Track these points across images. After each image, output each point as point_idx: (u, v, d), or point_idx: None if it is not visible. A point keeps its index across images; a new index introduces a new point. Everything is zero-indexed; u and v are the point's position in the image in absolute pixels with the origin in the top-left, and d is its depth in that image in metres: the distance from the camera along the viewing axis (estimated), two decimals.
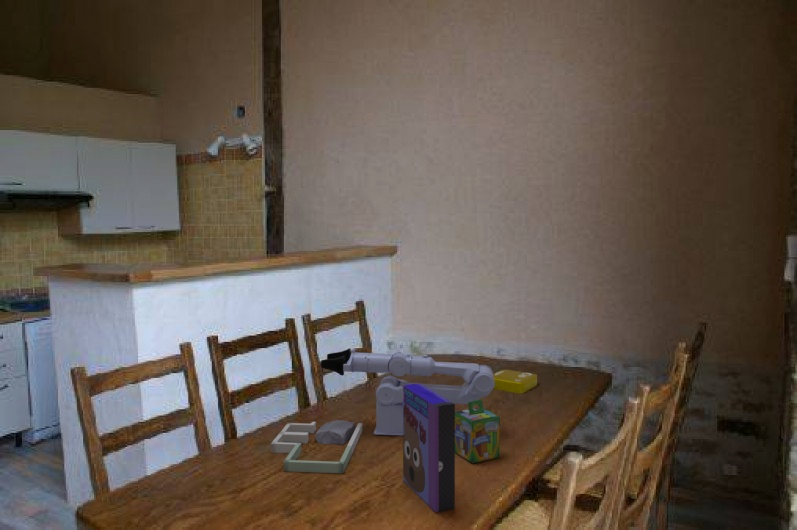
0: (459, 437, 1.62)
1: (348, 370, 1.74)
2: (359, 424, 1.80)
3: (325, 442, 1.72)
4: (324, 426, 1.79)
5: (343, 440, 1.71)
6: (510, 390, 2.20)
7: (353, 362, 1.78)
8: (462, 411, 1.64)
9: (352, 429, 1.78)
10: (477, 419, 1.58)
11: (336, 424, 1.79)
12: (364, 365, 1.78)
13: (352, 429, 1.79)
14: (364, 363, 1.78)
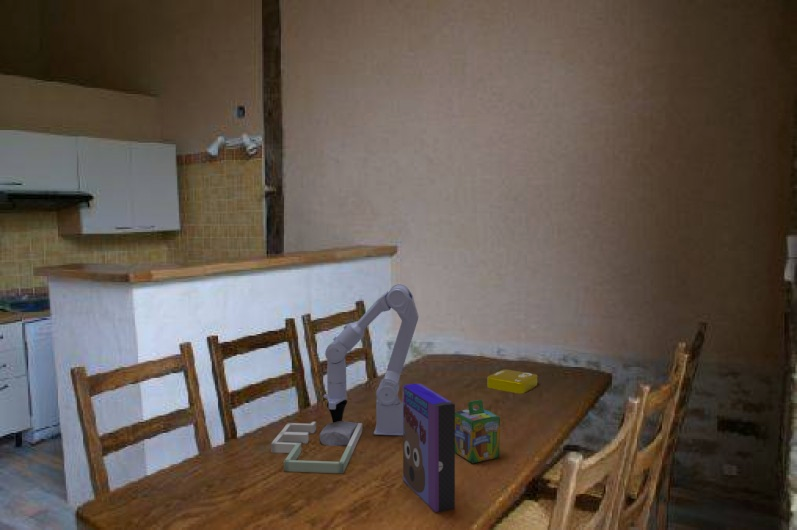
0: (459, 437, 1.62)
1: (333, 404, 1.75)
2: (359, 424, 1.80)
3: (330, 443, 1.71)
4: (327, 427, 1.78)
5: None
6: (510, 390, 2.20)
7: (333, 397, 1.79)
8: (462, 411, 1.64)
9: None
10: (477, 419, 1.58)
11: (339, 425, 1.77)
12: (334, 386, 1.79)
13: None
14: (333, 386, 1.79)
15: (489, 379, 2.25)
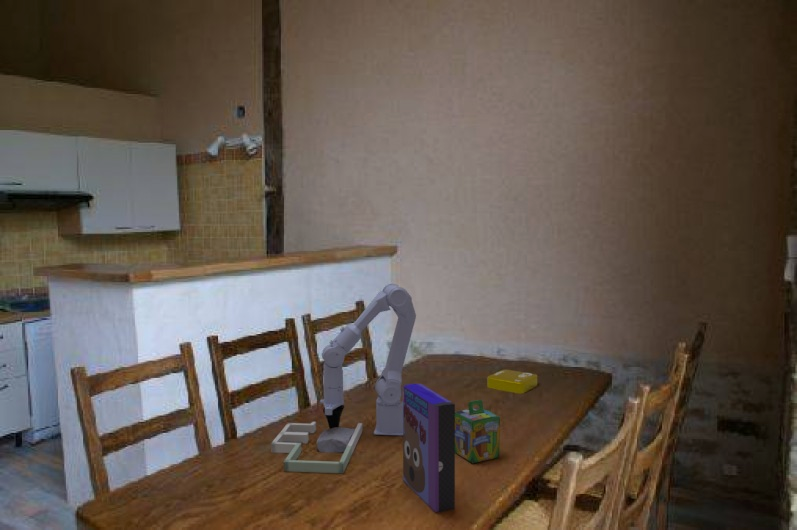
0: (459, 437, 1.62)
1: (330, 409, 1.70)
2: (359, 424, 1.80)
3: (328, 451, 1.66)
4: (323, 434, 1.73)
5: None
6: (510, 390, 2.20)
7: (329, 402, 1.74)
8: (462, 411, 1.64)
9: None
10: (477, 419, 1.58)
11: (336, 431, 1.73)
12: (331, 391, 1.74)
13: None
14: (329, 391, 1.74)
15: (489, 379, 2.25)
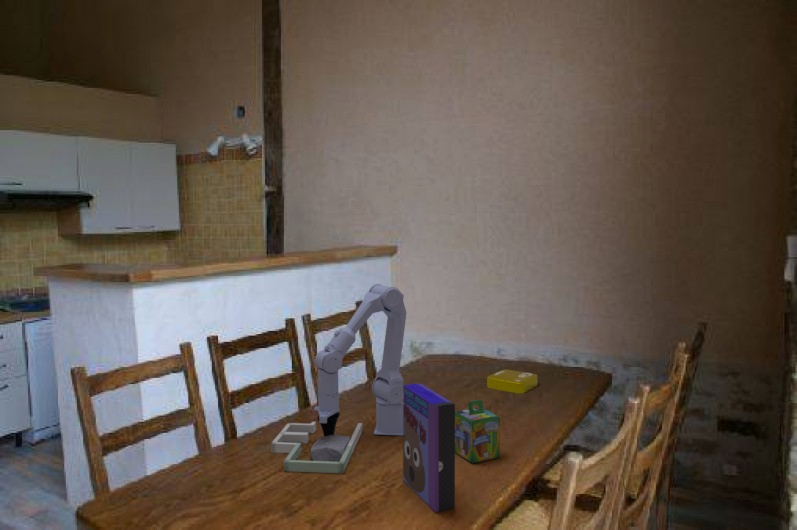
0: (459, 437, 1.62)
1: (325, 417, 1.63)
2: (359, 424, 1.80)
3: (322, 460, 1.59)
4: (317, 442, 1.66)
5: None
6: (510, 390, 2.20)
7: (324, 410, 1.68)
8: (462, 411, 1.64)
9: None
10: (477, 419, 1.58)
11: (331, 439, 1.66)
12: (326, 398, 1.67)
13: None
14: (324, 398, 1.67)
15: (489, 379, 2.25)
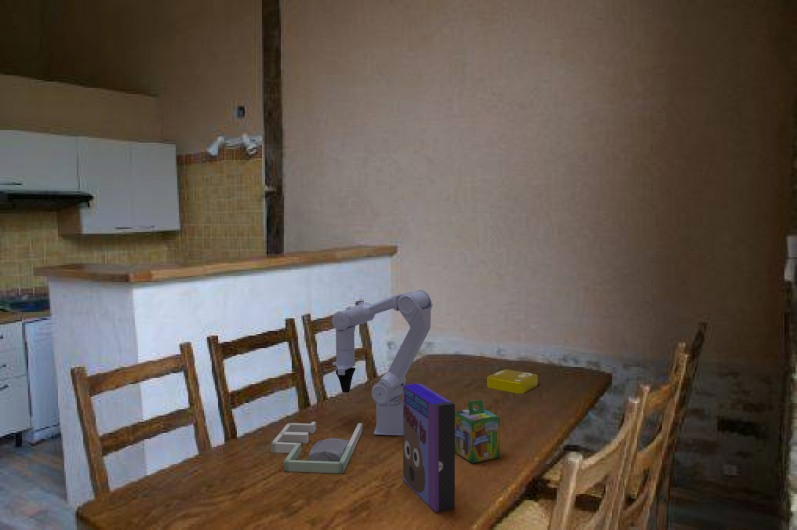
0: (459, 437, 1.62)
1: (343, 370, 1.80)
2: (359, 424, 1.80)
3: None
4: (316, 446, 1.64)
5: None
6: (509, 390, 2.20)
7: (341, 364, 1.85)
8: (462, 411, 1.64)
9: None
10: (477, 419, 1.58)
11: (330, 443, 1.64)
12: (343, 353, 1.84)
13: None
14: (342, 353, 1.84)
15: (489, 379, 2.25)
